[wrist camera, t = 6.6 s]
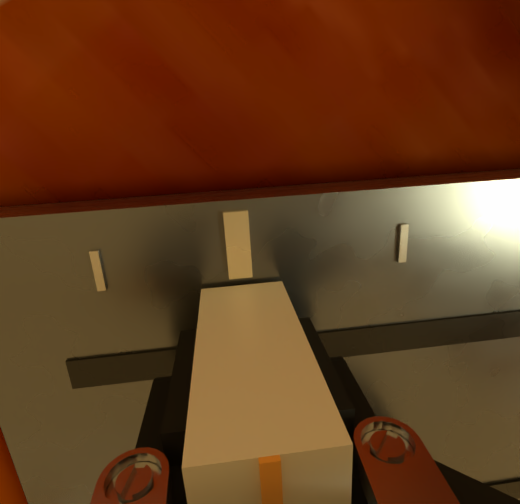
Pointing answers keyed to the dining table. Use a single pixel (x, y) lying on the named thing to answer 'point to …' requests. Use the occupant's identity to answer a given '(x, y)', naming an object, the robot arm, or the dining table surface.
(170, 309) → the console board
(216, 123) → the dining table surface
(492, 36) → the dining table surface
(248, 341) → the fader cap
